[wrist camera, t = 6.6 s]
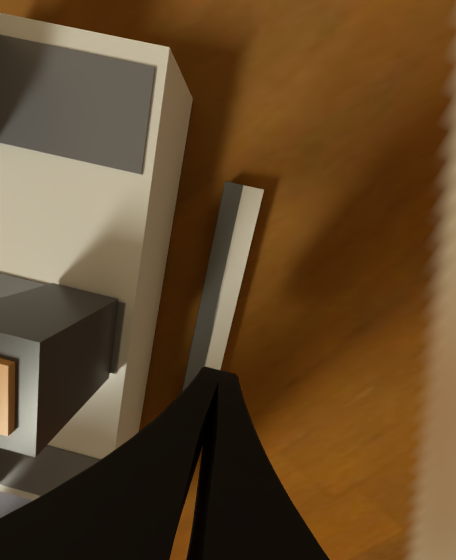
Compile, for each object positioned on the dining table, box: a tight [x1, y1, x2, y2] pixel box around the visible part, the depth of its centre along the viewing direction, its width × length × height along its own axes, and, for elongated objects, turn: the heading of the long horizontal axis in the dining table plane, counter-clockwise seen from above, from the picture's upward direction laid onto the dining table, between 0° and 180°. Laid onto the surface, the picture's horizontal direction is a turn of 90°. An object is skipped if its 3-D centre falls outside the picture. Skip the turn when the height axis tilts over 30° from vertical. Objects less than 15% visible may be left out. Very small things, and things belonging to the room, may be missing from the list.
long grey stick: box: [182, 181, 264, 392], centre depth 14 cm, size 16×2×1 cm, turn 167°
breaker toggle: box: [0, 283, 118, 457], centre depth 9 cm, size 4×3×4 cm
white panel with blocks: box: [0, 13, 193, 500], centre depth 11 cm, size 23×10×8 cm, turn 167°
